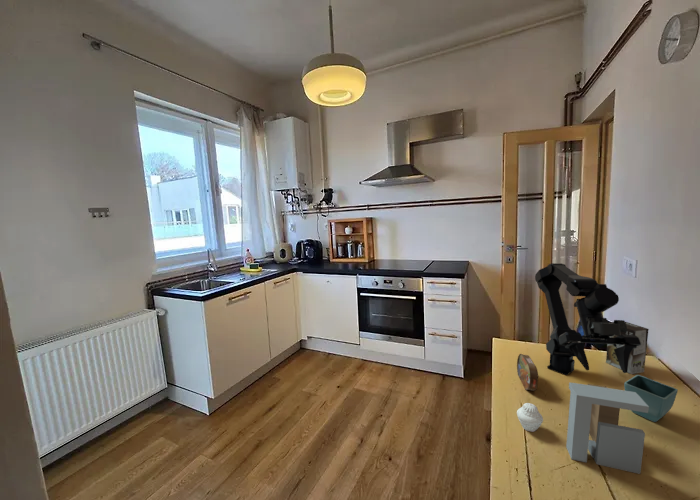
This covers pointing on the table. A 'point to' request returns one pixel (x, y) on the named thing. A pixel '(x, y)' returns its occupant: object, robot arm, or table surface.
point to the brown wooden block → (602, 416)
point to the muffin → (529, 417)
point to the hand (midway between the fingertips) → (606, 371)
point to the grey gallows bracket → (604, 428)
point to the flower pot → (652, 396)
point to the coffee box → (637, 354)
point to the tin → (527, 372)
